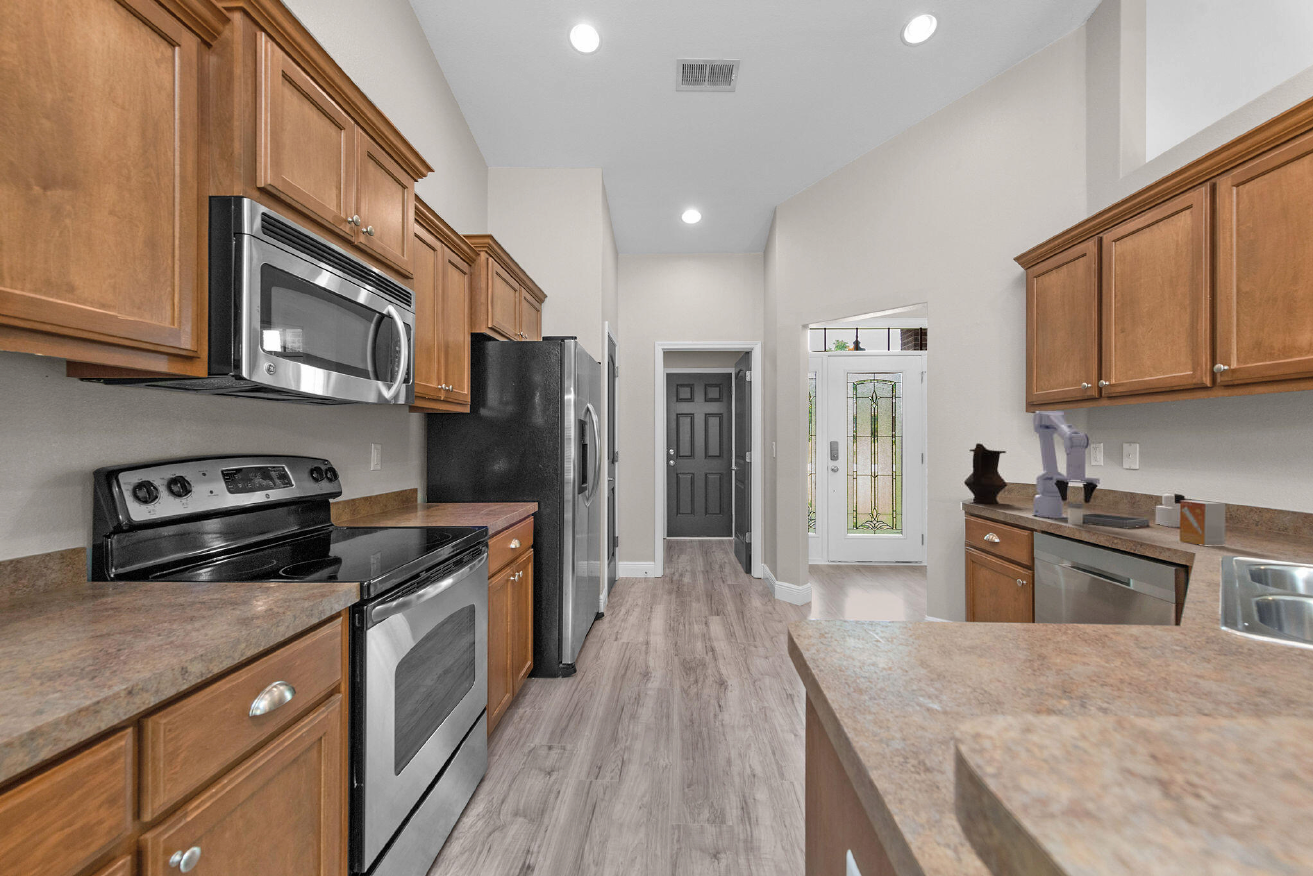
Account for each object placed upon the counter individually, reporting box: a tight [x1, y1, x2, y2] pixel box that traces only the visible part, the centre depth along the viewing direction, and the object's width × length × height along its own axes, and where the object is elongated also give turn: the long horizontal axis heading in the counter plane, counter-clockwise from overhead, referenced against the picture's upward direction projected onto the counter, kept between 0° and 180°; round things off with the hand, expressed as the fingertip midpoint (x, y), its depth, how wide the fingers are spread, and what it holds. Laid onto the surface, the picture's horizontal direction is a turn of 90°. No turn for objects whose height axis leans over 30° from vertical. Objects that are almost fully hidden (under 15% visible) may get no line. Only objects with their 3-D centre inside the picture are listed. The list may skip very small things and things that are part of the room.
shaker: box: [1067, 502, 1084, 526], centre depth 205 cm, size 5×5×8 cm
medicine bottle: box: [1155, 493, 1186, 528], centre depth 204 cm, size 7×7×12 cm
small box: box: [1179, 499, 1226, 545], centre depth 168 cm, size 8×6×13 cm
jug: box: [963, 442, 1008, 505], centre depth 274 cm, size 21×18×30 cm
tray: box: [1083, 512, 1150, 529], centre depth 208 cm, size 18×16×2 cm
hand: (1075, 501), depth 205 cm, fingers open, 7 cm apart
